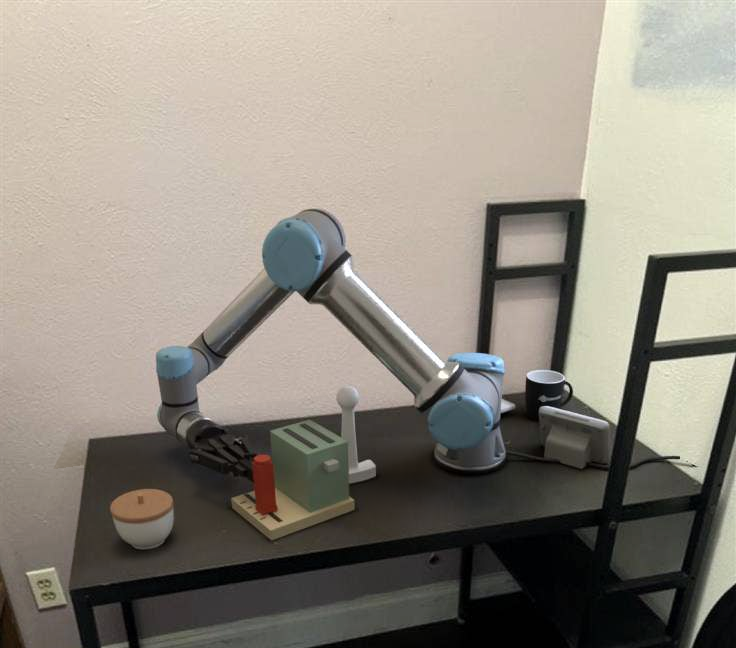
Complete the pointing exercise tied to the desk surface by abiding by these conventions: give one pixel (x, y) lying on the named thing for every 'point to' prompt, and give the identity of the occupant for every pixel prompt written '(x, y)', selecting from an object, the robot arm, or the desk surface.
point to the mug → (544, 391)
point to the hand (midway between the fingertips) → (260, 478)
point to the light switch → (506, 406)
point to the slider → (264, 484)
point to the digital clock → (574, 437)
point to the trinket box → (143, 517)
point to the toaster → (302, 480)
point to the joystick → (353, 436)
